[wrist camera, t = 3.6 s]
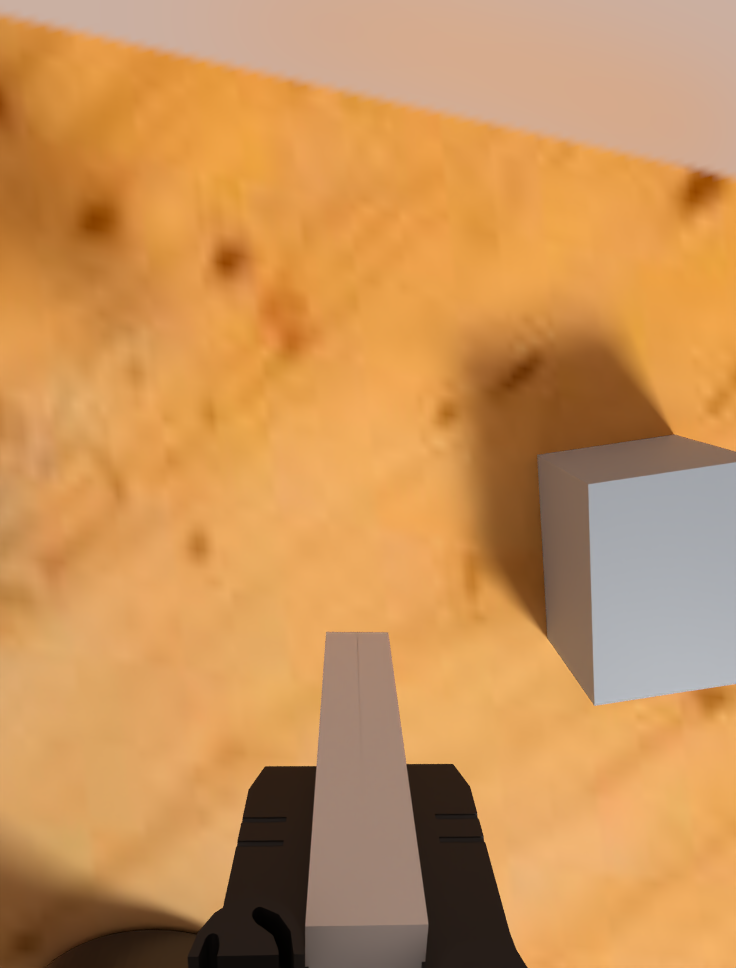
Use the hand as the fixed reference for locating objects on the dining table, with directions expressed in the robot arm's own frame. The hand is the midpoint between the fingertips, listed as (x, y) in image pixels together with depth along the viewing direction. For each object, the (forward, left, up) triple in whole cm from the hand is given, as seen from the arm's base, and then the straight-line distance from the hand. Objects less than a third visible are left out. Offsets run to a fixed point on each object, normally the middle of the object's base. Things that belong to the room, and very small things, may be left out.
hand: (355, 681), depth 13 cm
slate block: (+12, 0, -11) cm, 16 cm away
